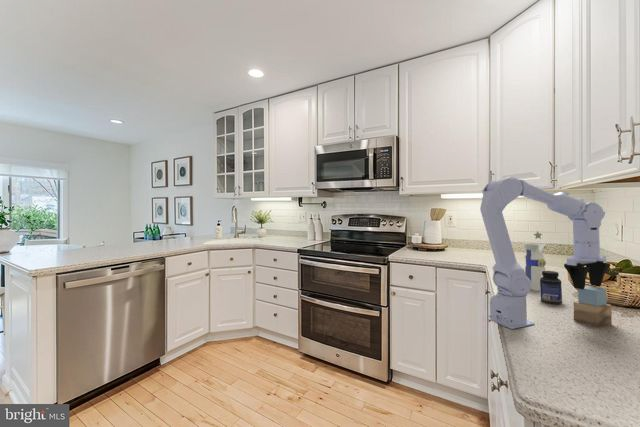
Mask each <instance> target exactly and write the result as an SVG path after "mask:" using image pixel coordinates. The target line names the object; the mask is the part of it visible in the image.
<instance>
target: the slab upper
mask: <svg viewBox="0 0 640 427" xmlns="http://www.w3.org/2000/svg"><path fill="white" fill-rule="evenodd" d="M572 303H573V313H574V312H577V313H581V314H585V315H588V316H592V317H596V318H602V317H606V316H611V317H612V316H613V315H612V313H613V311H612V304H608V303H607V305H602V306H598V307H597V306H593V305H588V304H584V303H580V302H578V300H577V301H576V300H575V301H573V302H572Z"/></svg>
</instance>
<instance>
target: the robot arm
mask: <svg viewBox="0 0 640 427" xmlns="http://www.w3.org/2000/svg"><path fill="white" fill-rule="evenodd" d="M481 192H482V200H481V203H480V214H481V216H482V220H483V223H484V228H485V231H486V234H487V238H488V241H489V243H490V244H489V245H490V248H491V251H492V255H493V258H494V261H495V264H494V265H493V266H492V270H493V274H492V275H493V276H492V281H493V284H494V285H495V286H496V288H497V289H496V290H497V293H496V294H495V295H493V296H491V298H490V299H489V300H490V301H489V310H490V312H489V314H490V315H489V317H488V318H487V319H488V321H491V322H493V323H495V324H498V325H500V326H503V327H506V328H508V329H510V330H514V329H518V328H519V329H520V328H524V327H528V326H532V325H535V322H534V321H531V320H528V315H527V314H528V312H527V311H528V310H527V309H528V308H527V296H528V294H529V293H531V292H530V291H532V290H531V287H532V284H531V281H530V279H529V278H528V277H527V276H526V274H525V268H523V267H522V265H521V264H520V263H518V262H517V259H516V255H515V252H514V248H513V245H512V241H511V238H510V235H509V232H508V228H507V224H506V221H505V218H504V217H505V216H504V214H503V211H504V210H505V209H506V207H507V206H508V205H509V204H510V203H511V202H513V201H514V200H516V199H517V198H518V197H520V196H521V197H524V198H527V199H530V200H533V201H536V202H540V203H543V204H545V205H546V206H547V208H548V209H549V210H550V211H553V212H555V213H557V214H561V215H563V216H566V217H567V218H568V219H569V220H570V221H572V234H573V237H572V238H573V241H572V242H573V256H570V257H567V258H566V263H564V264H563V267H564V268H565V270H566V271H567V272H568V274H569V276H570V279H571V282H572V284H573V287H574V289H577V290H578V289H584V288H585V286H586V279H587V276H588V278H589V282H590V283H589V284H590V286H592V287H597V288H600V287H601V286H602V283H603V280H604V277H605V275H606V273H607V271H608V269H609V268H610V267H611V263H609V262H607V255H606V254H605V255H604V254H601V249H600V228H601V224H602V220H603V219H604V218H605V215H606V211H605V210H604V209H603V207H602V206H601V205H600V204H599V203H596V202H586V201H585V199H583V198H576V197H573V196H571V195H570V193H568V192H566V191H564V192H557V193H552V192H549V191H547V190H545V189H542V188H540V187H537V186H535V185H533V184H531V183H528V182H527V181H525V180H524V179H518V178H517V177H507V178H503V179H499V180H498V179H497V180H491V181H489V182H488V183H487V184H486V185H485V186H484V188H483V189H482V190H481ZM583 264H584V265H583Z"/></svg>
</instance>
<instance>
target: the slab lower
mask: <svg viewBox="0 0 640 427" xmlns="http://www.w3.org/2000/svg"><path fill="white" fill-rule="evenodd" d="M573 321H574V322H575V321H576V322H579V323H581V324H582V323H583V324H586V325H588V326H592V327H595V328H603V327H606V326H611V325H612V315H611V316H606V317H602V318H596V317H592V316H588V315H585V314H581V313H577V312H574V311H573Z"/></svg>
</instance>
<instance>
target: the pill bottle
mask: <svg viewBox="0 0 640 427" xmlns="http://www.w3.org/2000/svg"><path fill="white" fill-rule="evenodd" d="M542 275H543V277H542V278H541V279H540V291H539V293H540V301H542V302H543V303H547V304H552V305H562V303H563V292H562V290H563V289H562V281H561V279H560V278H559V272H558V271H554V270H546V271H542Z"/></svg>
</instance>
